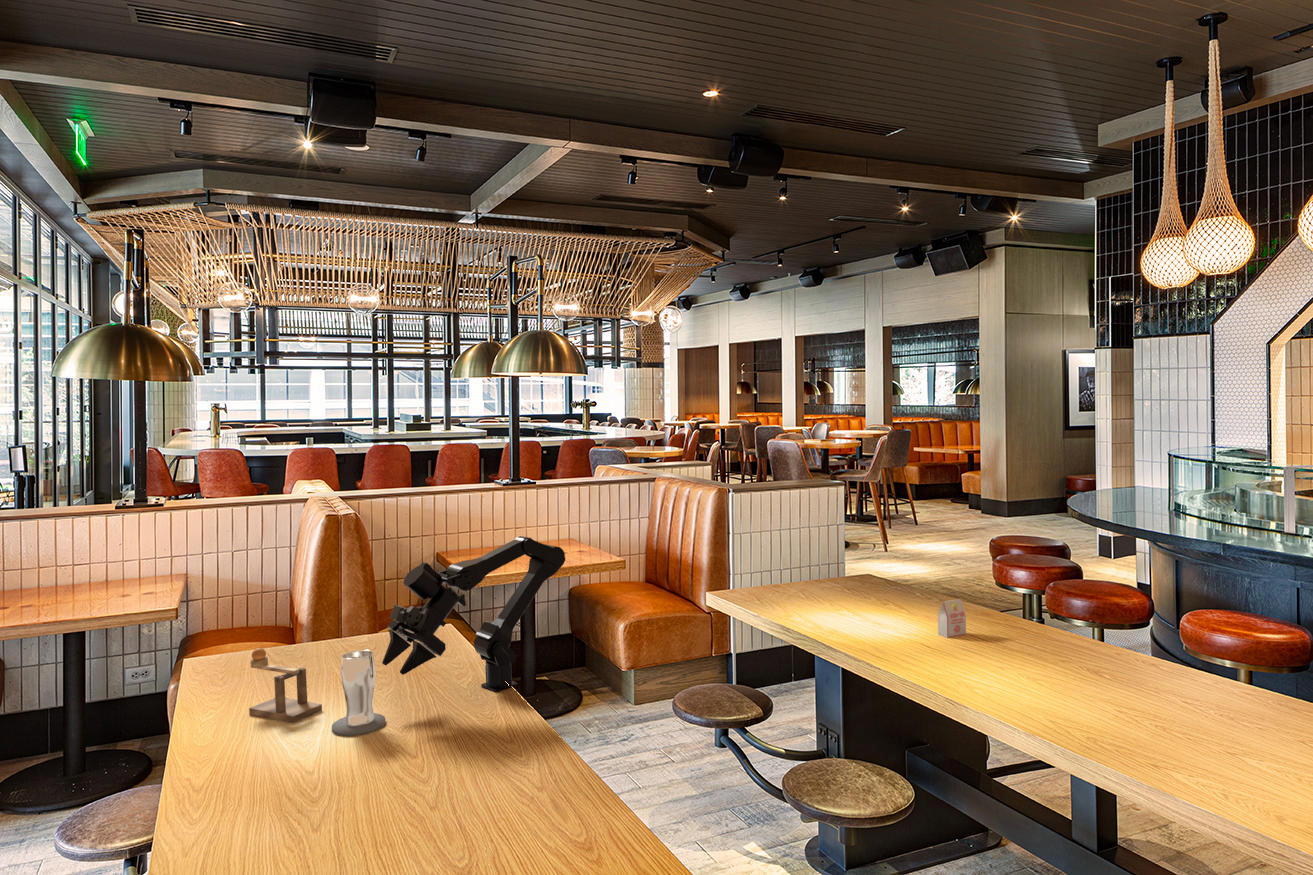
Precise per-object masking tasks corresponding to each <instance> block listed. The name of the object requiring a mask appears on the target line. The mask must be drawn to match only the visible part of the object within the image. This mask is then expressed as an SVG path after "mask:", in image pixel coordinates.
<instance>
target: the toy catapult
mask: <svg viewBox="0 0 1313 875" xmlns="http://www.w3.org/2000/svg"><path fill="white" fill-rule="evenodd" d="M266 655H267V652H266V650H265V649H264V648H262V647H257V648H255V649H254V650H253V651H252V653H251V659H250V668H252V669H258V670H264V671H269V672H274V673H275V672H276V673H282V674H280V675H276V676H274V677H273V678H274V697H273V698H271V699H269V700H266V701H264V702H261V703H258V704H256V705H253V706H251V707H249V708H248V710H249V715H251V716H255V717H261V718H266V719H270V720H275V721H282V722H287V723H291V724H295V723H297V722H299V721H302V720H303V719H306V718H308V717H310V716H312V715H315V714H317V713H320V712H322V711H323V704H322V703H319V702H317V703H316V702H310V701H308V685H307V668H306V667H298V668H292V667H286V666H280V665H275V664H269V660H268V656H266ZM293 677H296V696H297V699H296V698H295V699H294V698H290V697H286V688H285V687H286V686H285V681H286V680H287V679H291V678H293Z"/></svg>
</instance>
